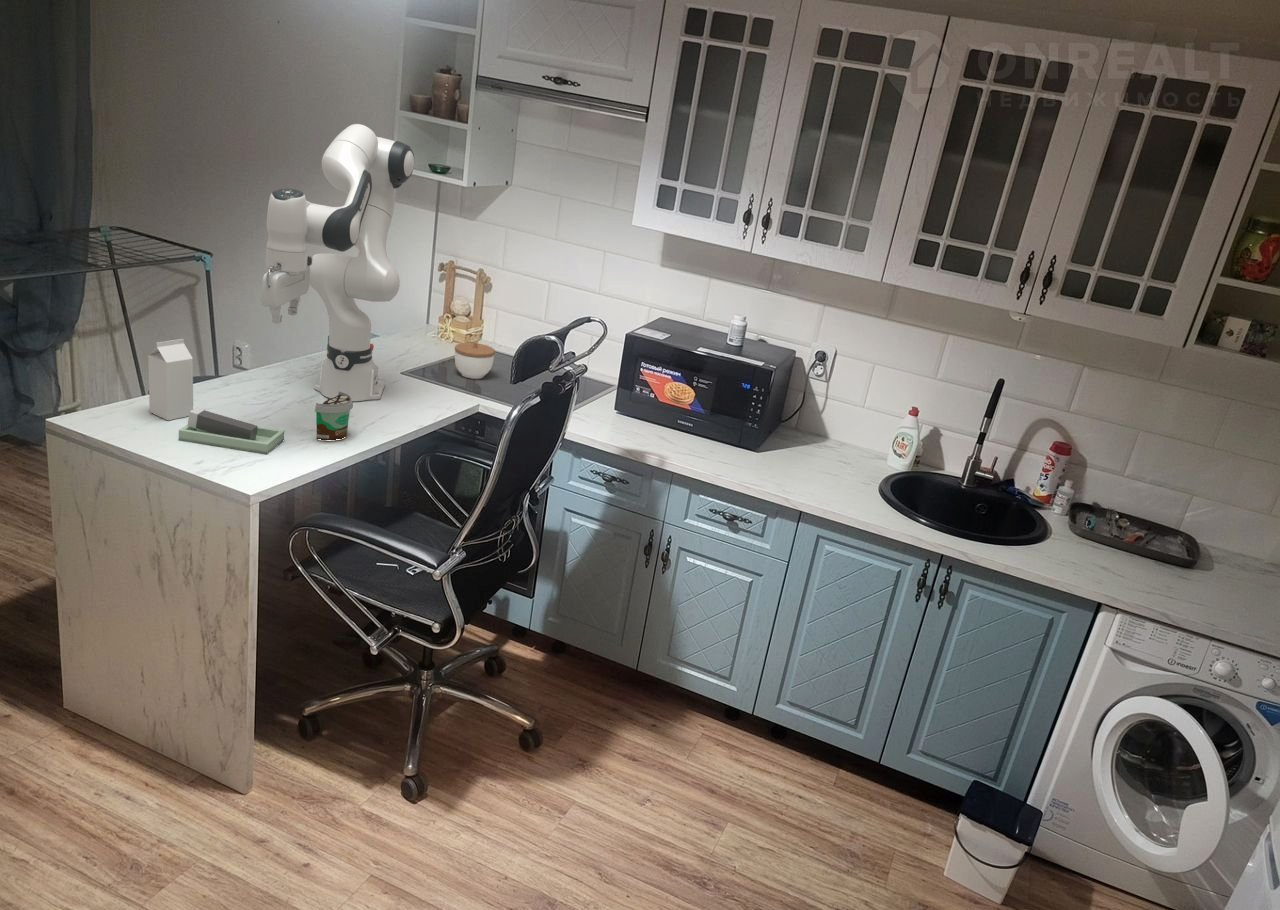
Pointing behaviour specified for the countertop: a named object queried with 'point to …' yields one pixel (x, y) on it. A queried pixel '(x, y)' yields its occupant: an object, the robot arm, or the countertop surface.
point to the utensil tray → (235, 439)
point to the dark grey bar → (221, 424)
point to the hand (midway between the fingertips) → (284, 318)
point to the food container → (333, 417)
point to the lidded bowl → (473, 359)
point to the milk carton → (170, 380)
